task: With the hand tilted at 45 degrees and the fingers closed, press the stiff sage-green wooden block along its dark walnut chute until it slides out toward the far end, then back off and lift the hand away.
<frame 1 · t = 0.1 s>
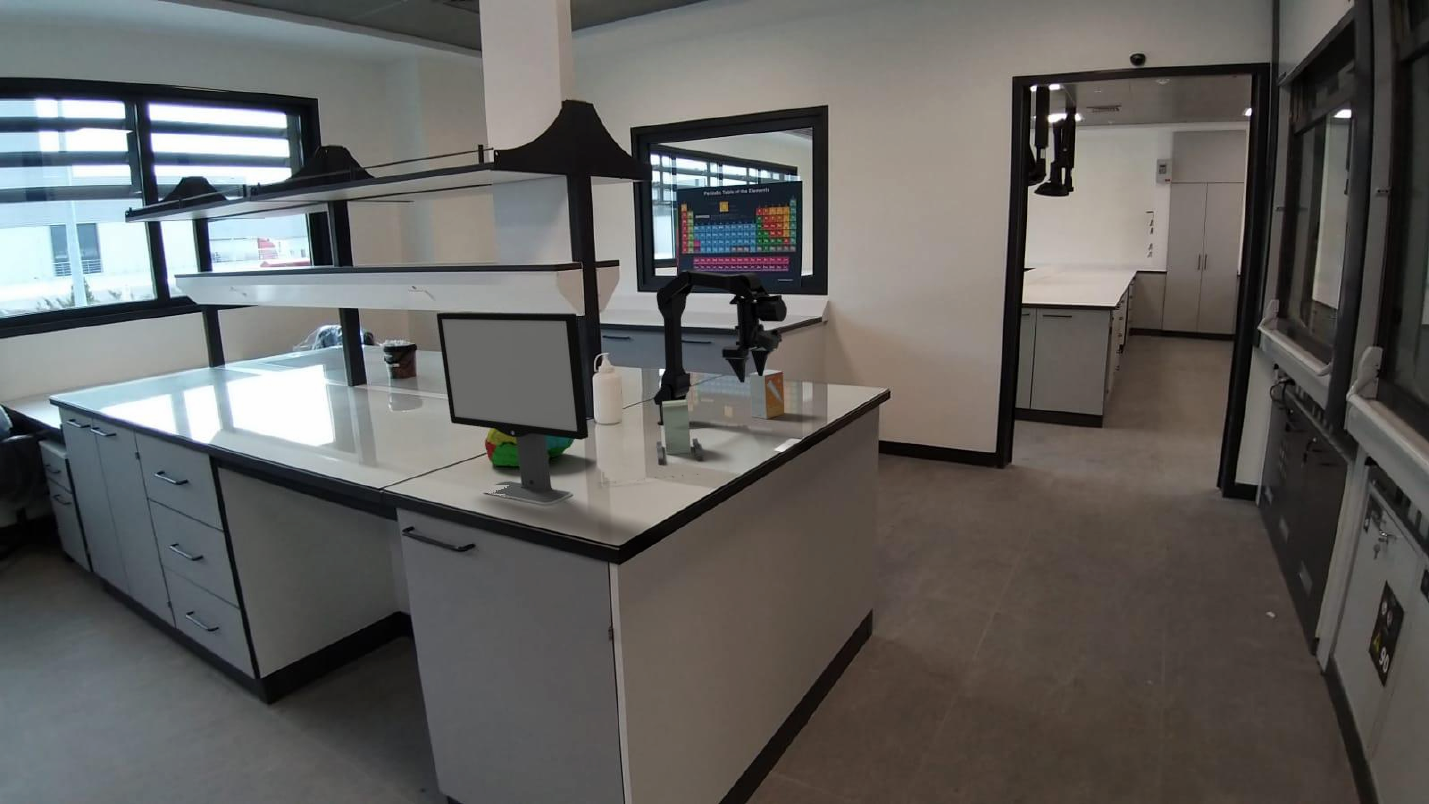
hand: (751, 379, 210), 15 cm above the table, fingers open, 9 cm apart
sage block: (676, 426, 193), point 7 cm above the table, slide at 0.0 cm
walnut chute: (678, 455, 195), on the table
small box: (768, 416, 231), on the table
brain model: (533, 461, 199), on the table
computer monitor: (527, 494, 173), on the table
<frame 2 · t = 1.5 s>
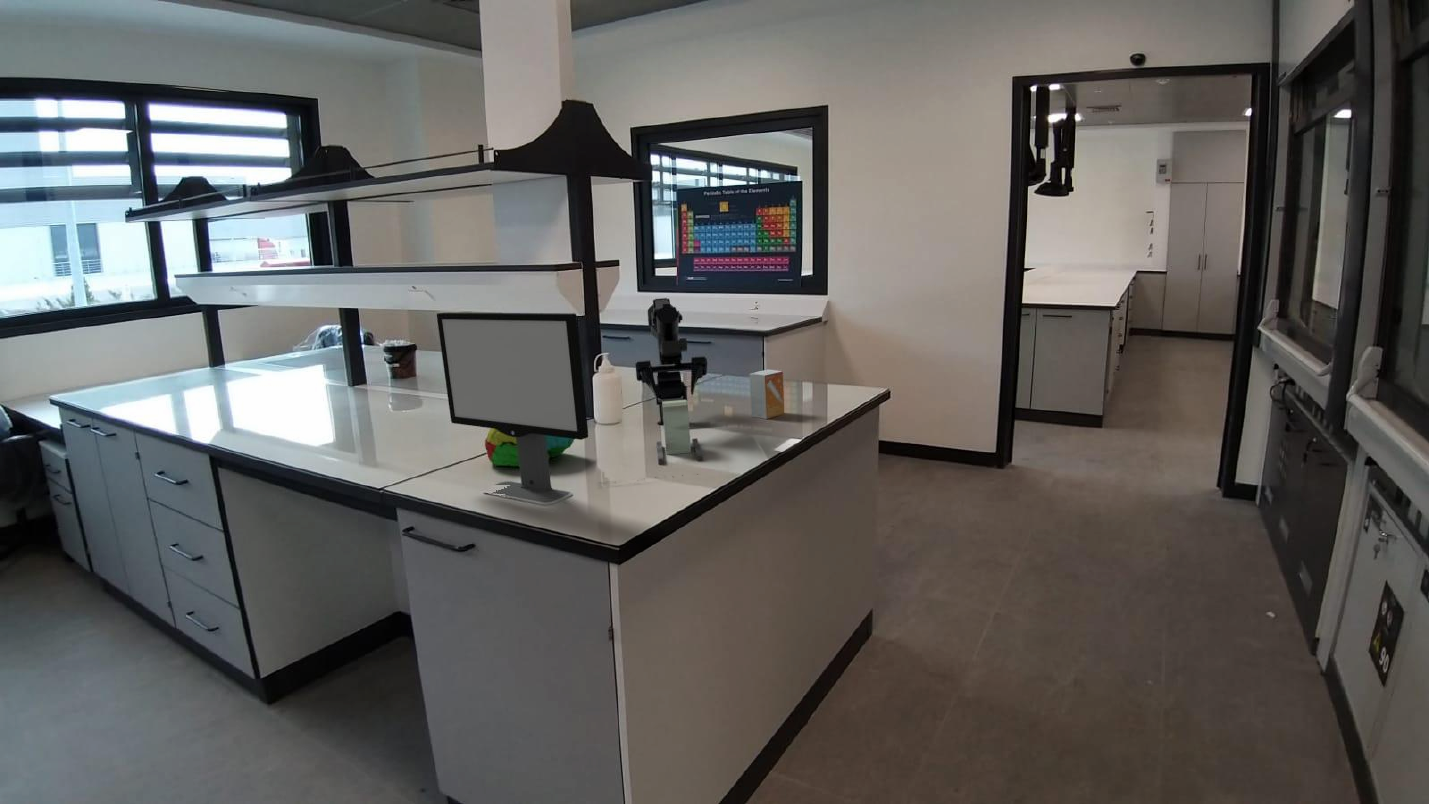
hand: (674, 395, 202), 13 cm above the table, fingers open, 9 cm apart
nothing on the table moved.
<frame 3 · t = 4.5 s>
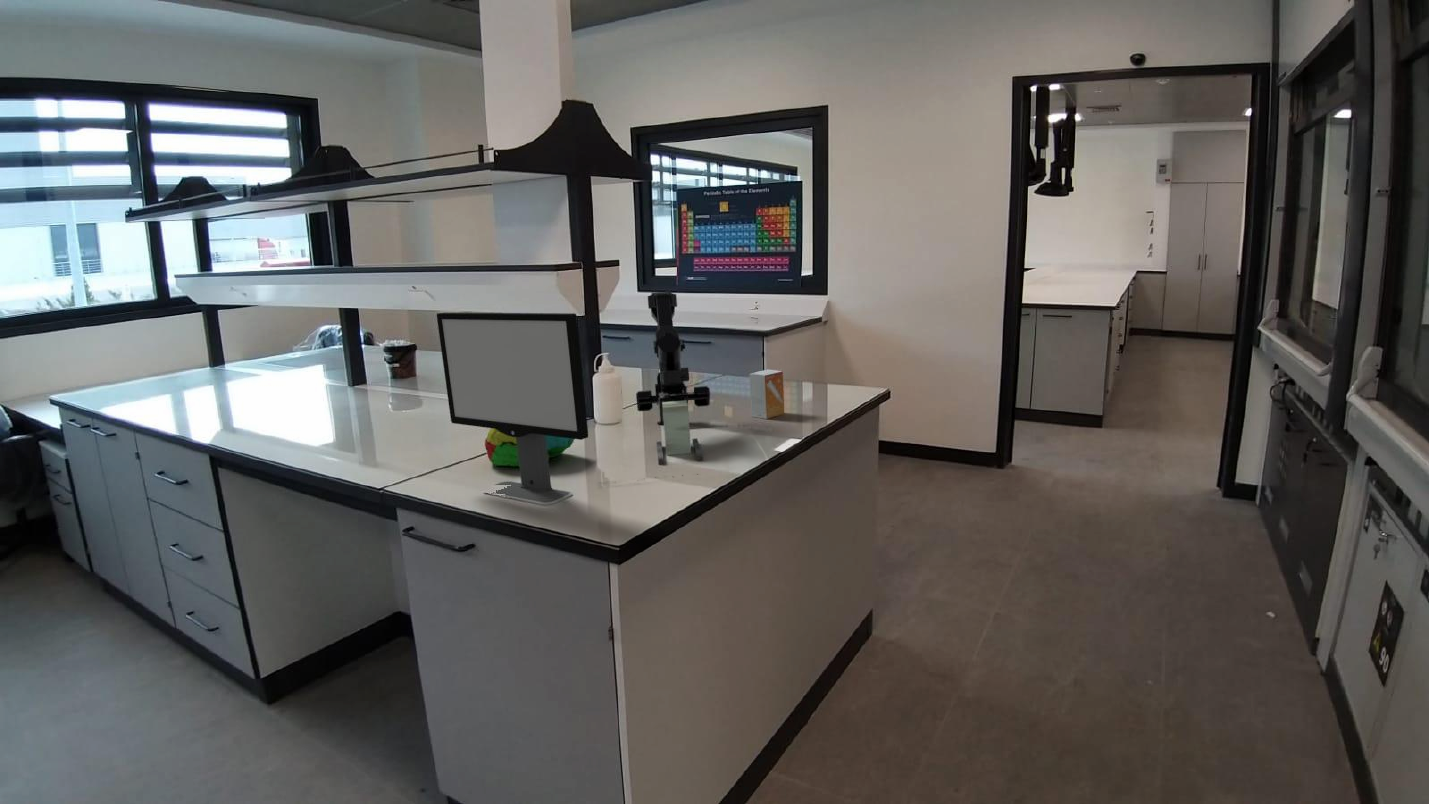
hand: (676, 426, 196), 7 cm above the table, fingers closed, pressing on sage block
sage block: (676, 427, 193), point 7 cm above the table, slide at 0.7 cm, touching gripper
everything else where it was.
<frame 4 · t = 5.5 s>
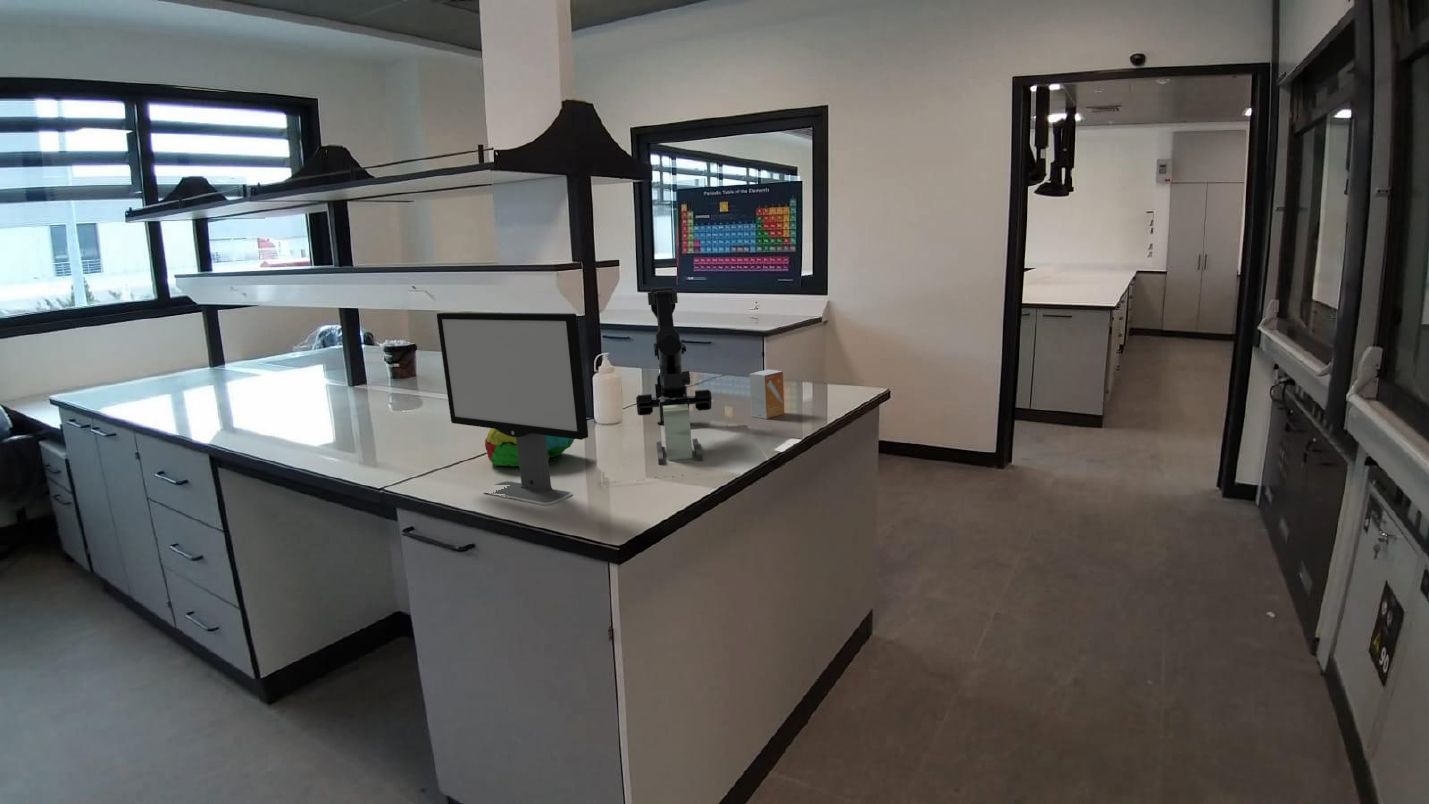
hand: (676, 431, 192), 7 cm above the table, fingers closed, pressing on sage block
sage block: (677, 431, 188), point 7 cm above the table, slide at 5.1 cm, touching gripper
everything else where it was.
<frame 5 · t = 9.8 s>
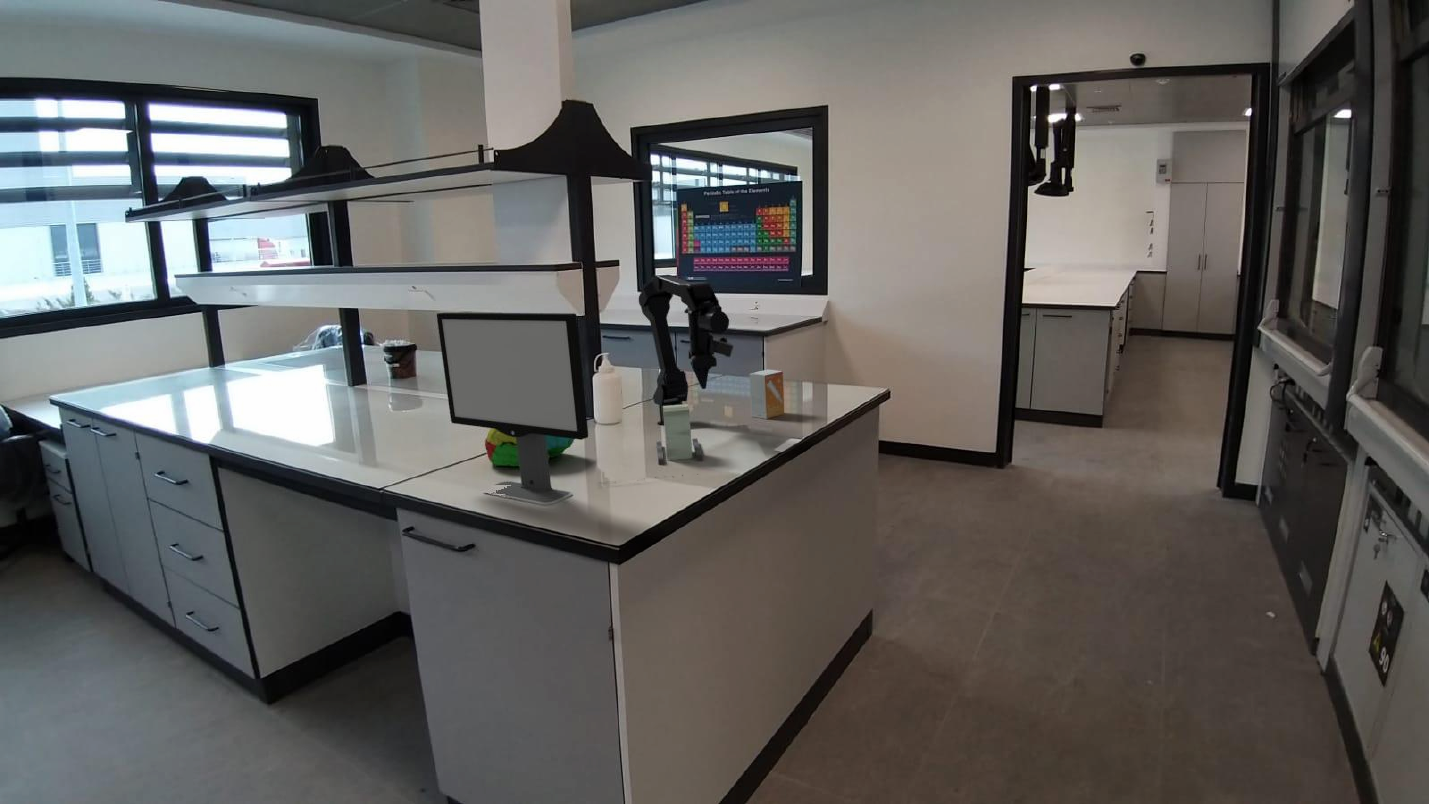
hand: (703, 388, 210), 13 cm above the table, fingers closed
sage block: (677, 431, 188), point 7 cm above the table, slide at 5.2 cm
everything else where it was.
at the end: sage block slide at 5.2 cm; small box moved 0.2 cm from its start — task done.
